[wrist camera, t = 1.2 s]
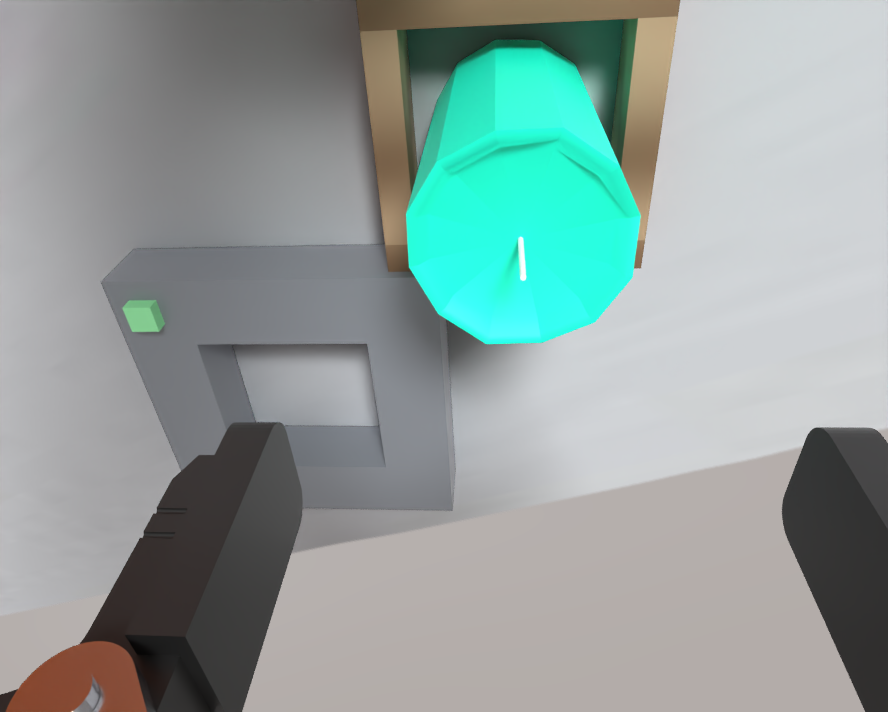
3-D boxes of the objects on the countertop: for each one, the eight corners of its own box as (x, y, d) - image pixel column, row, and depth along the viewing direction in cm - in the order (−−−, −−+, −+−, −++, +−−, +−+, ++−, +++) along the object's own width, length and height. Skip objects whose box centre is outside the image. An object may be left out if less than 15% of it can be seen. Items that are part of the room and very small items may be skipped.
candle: (558, 213, 26) (593, 401, 17) (418, 174, 26) (372, 346, 16) (618, 64, 23) (706, 193, 13) (458, 15, 22) (429, 113, 13)
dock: (133, 248, 29) (93, 289, 26) (441, 243, 28) (435, 284, 25) (215, 465, 37) (192, 514, 34) (455, 468, 36) (451, 519, 33)
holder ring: (367, -21, 22) (354, -12, 20) (666, -37, 21) (684, -29, 19) (396, 243, 28) (388, 271, 26) (630, 239, 27) (640, 268, 25)
